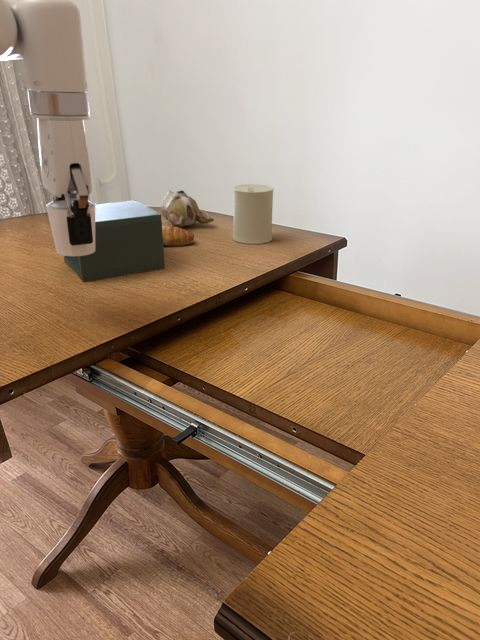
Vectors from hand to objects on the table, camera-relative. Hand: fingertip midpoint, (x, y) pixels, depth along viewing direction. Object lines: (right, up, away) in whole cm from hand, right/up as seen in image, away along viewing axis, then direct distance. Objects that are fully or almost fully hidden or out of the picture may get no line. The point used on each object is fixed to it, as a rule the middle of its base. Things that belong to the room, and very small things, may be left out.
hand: (74, 236), depth 81 cm
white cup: (0, -2, +1) cm, 2 cm away
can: (+26, +9, +46) cm, 54 cm away
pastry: (+7, +7, +42) cm, 43 cm away
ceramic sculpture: (+8, +14, +56) cm, 59 cm away
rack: (-2, 0, +28) cm, 28 cm away
